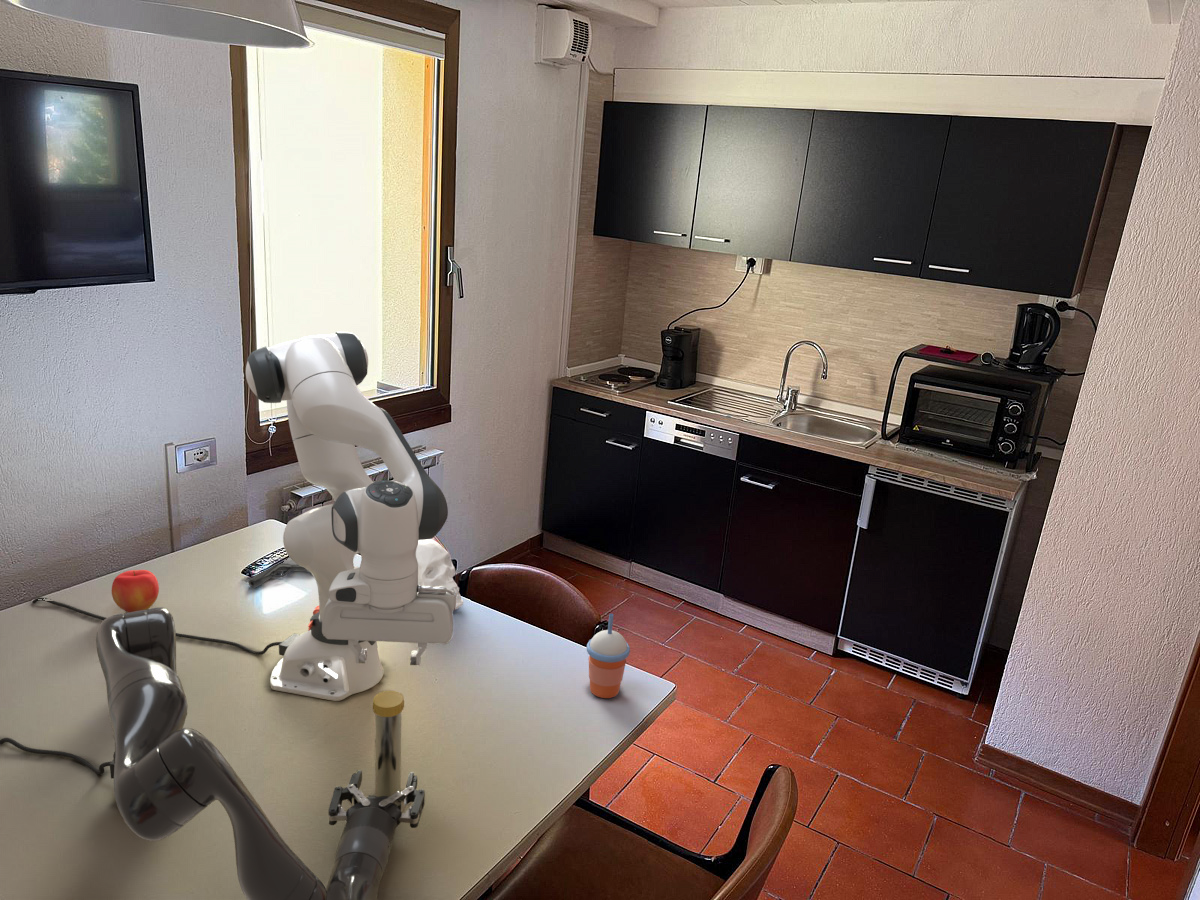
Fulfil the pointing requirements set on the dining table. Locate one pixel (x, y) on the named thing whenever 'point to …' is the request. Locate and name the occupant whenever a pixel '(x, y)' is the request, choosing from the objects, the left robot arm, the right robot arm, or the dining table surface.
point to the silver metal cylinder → (387, 755)
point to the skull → (436, 568)
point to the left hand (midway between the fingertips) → (385, 775)
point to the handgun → (285, 566)
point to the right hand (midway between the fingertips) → (388, 662)
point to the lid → (388, 703)
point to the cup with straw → (607, 661)
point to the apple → (135, 590)
